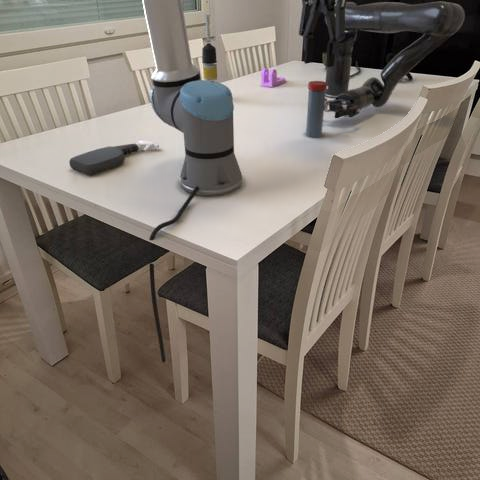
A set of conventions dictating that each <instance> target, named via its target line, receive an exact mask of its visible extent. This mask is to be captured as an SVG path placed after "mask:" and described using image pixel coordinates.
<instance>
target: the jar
mask: <svg viewBox="0 0 480 480" xmlns="http://www.w3.org/2000/svg"><path fill="white" fill-rule="evenodd" d="M325 91H326V90H324V91H312V90H309V89H308V96H307V113H306V114H307V115H306V128H305V129H306V130H305V136H306V137H308V138H320V137H322V136H323V127H324V126H323V125H324V114H325V111H324V103H325V98H326V96H325Z"/></svg>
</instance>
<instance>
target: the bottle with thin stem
mask: <svg viewBox="0 0 480 480" xmlns="http://www.w3.org/2000/svg"><path fill="white" fill-rule="evenodd" d="M210 17H211V14H204V18H205V27H206V29H205V30H206V31H205V33H206V39H207V40H206V42H207V43H206V45H204V46H202V49H201V50H202V51H201V52H202V54H201V55H202V57H201V58H202V61H201V63H202V71H203V72H202V73H203V74H202V75H203V80H206V81H211V82H216V80H218V64H216V63H218V61H217V48H216V47H215V46H214V45H212V43H210V42H211V40H210V39H211V31H210V29H211V28H210Z"/></svg>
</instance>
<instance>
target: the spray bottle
mask: <svg viewBox="0 0 480 480" xmlns="http://www.w3.org/2000/svg"><path fill="white" fill-rule="evenodd" d="M159 148H160V145H159V144H158V143H155V142H151V141H148V140H144V139H139V140H138V141H137V142H135V143H129V144H128V143H126V144H122V145H113V146H105V147H100V148H97V149H94V150H90V151H87V152H83V153H81V154H78V155H74V156H73V157H70V159H69V161H68V162H69V167H70V168H71V169H72V170H74V171H75V172H78V173H81V174H83V175H85V176H89V177H90V176H91V177H92V176H95V175H99V174H102V173H105V172H107V171H110V170H113V169H116V168H118V167H120V166H122V165H123V164H124V163H125V158H126V156H127V155H131V154H133V153H138V151H140V150H143V151H144V152H146V151H147V150H149V149H159Z"/></svg>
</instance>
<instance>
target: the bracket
mask: <svg viewBox="0 0 480 480" xmlns="http://www.w3.org/2000/svg"><path fill="white" fill-rule="evenodd" d="M284 83H286V78H285V77H284V76H283V77H281V76H278V71H277V69H273V68H271V69H270V71H269V68H266V67H264V68H262V69H261V72H260V86H262V87H267V88H268V87H269V88H273V87H276V86H279V85H282V84H284Z"/></svg>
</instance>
